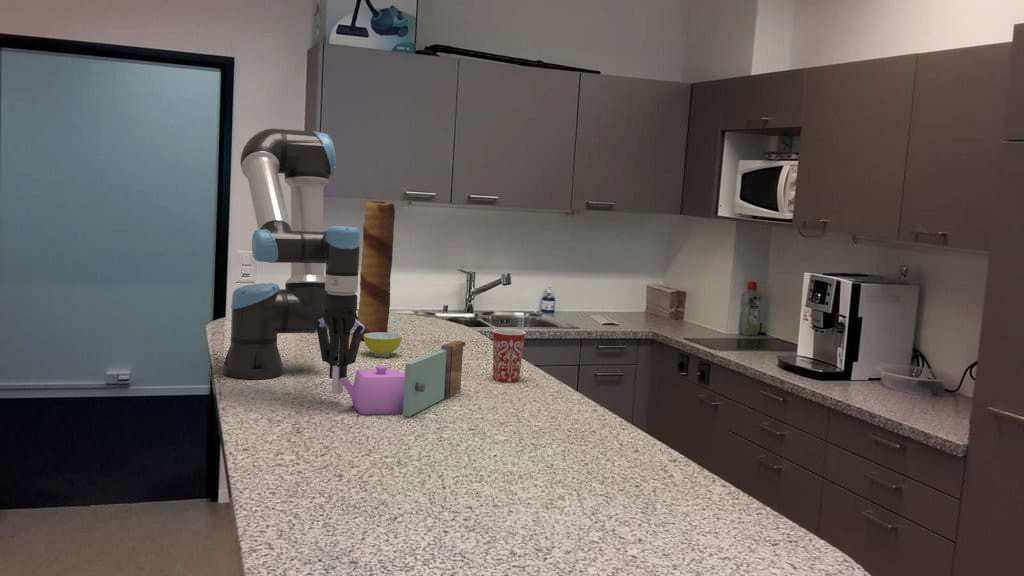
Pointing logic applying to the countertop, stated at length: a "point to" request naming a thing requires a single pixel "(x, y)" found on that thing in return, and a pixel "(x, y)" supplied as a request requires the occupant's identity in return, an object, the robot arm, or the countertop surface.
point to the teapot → (377, 391)
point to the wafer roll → (376, 266)
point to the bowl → (382, 343)
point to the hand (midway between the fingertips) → (337, 392)
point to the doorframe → (453, 368)
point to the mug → (507, 354)
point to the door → (424, 382)
